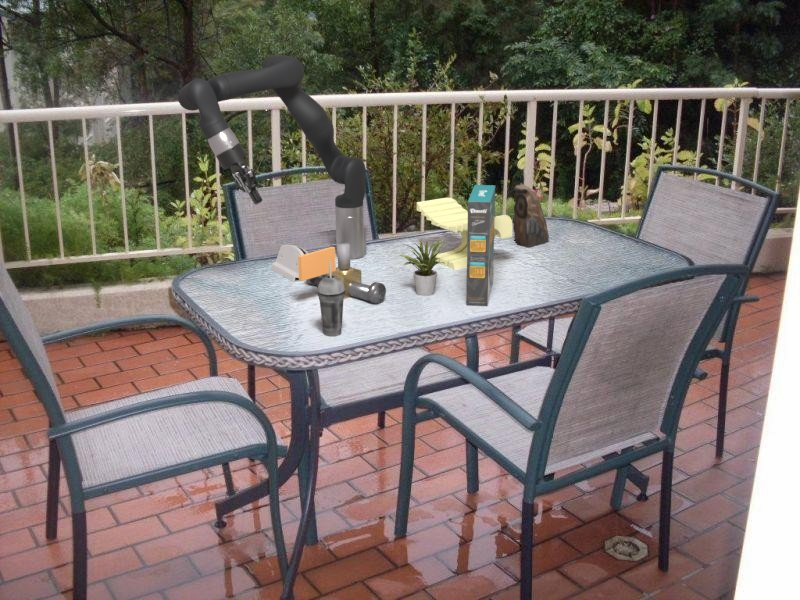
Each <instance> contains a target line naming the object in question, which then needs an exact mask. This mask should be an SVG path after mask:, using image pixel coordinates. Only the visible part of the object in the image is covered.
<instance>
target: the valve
mask: <svg viewBox="0 0 800 600" xmlns="http://www.w3.org/2000/svg"><path fill="white" fill-rule="evenodd" d="M327 276H330V273H327V274H324V275H320V276H317V277H314V278H311V279H307V280H305V281H306V283H308V284H309V285H313V286H316V287H318V285H319V283H320V281H321V280H322V279H323V278H325V277H327ZM332 276H336V277H338V278H339V279H340V280H341V281H342V282H343V285H344V288H345V296H344V300H345V299H348V298H351V297H352V298H357V299H360V300H363V301H367V302H370V303H373V304H376V305H379V304H381V303H382V302H383V301H384V299H385V297H386V294H387V288H386V286H385V285H384V283H382V282H378V281H375V282H373V283H371V284H370V285H369V284H366V283H362V281H363V280H362V269H357V268H355V267H352V266H350V268H349V269H339V268H338V266H337V267H336V271H333V272H332Z"/></svg>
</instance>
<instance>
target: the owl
mask: <svg viewBox="0 0 800 600" xmlns="http://www.w3.org/2000/svg"><path fill="white" fill-rule="evenodd" d="M513 191H514V194H513V198H514V206H513V218H512V224H513V225H512V230H513V232H514V233H513V234H514V239H513V242H515V244H516V245H517V246H520V247H523V248H529V249H530V248H534V247H538V246H539V245H540V246H541V245H545V244H546V243H549V242H550V241H549V238H550V235H549V231H548V225H547V219H546V218H545V215H544V212H543V208H542V205H541V202H540V199H539V197H538V196H537V194H536V193H535V192H534V190H532V188H530V186H527V185H524V184H523V183H522V182H520V183H519V184H516V185H515V186H514V188H513Z"/></svg>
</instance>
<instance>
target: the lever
mask: <svg viewBox="0 0 800 600" xmlns="http://www.w3.org/2000/svg"><path fill="white" fill-rule="evenodd" d="M337 249H338V257H337V267H338V268H339V269H349V268H350V267H351V259H350V244H349V243H338V244H337V245H336V247H335V246H330V247H325V248H323V249H319V250H315V251H312V252H308V254H304V255H301V256H298V267H299V278H298V281H300V282H304V281H306V280H307V279H311V278H314V277H317V276H320V275H324V274H327V273H329V261H331V272H333V271H336V268H337V267H336V250H337Z"/></svg>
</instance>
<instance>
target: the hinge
mask: <svg viewBox="0 0 800 600" xmlns="http://www.w3.org/2000/svg"><path fill="white" fill-rule="evenodd" d="M308 253H309V252H308V251H307V250H306V249H305V248H303V247H301V246H298V245H296V244H295V245H294V244H282V245H281V246H280V248H279V251H278V254H277V257H276V259H275V261H274V262H272V263H271V266H270V270H271V271H273V272H274V273H276V274H278V275H280V276H282V277H284V278H286V279H287V280H289V281H290V282H292V283H294V282H295V281H296V279H299V267H298V256H301V255H304V254H308Z"/></svg>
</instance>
